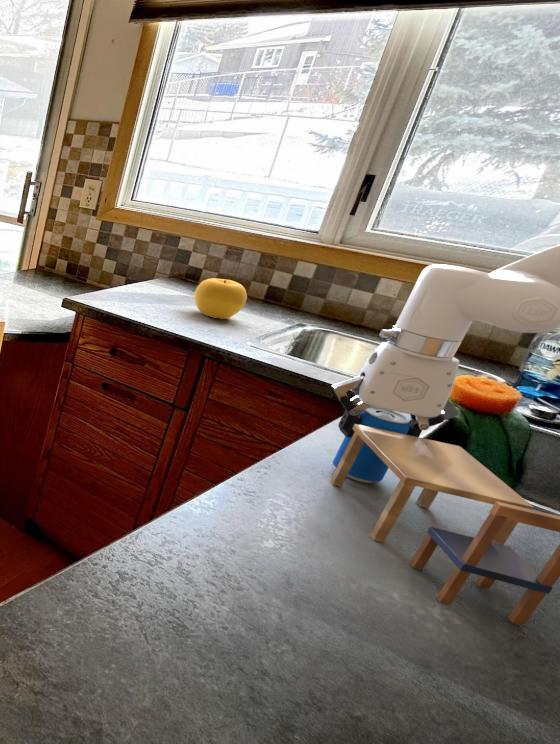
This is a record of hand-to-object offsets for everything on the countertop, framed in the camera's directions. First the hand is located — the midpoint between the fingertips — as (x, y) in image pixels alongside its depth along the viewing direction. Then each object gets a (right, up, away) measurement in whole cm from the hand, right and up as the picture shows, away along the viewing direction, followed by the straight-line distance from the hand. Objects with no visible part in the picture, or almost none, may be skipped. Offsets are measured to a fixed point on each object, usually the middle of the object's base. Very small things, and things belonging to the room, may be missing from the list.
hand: (373, 439), depth 103 cm
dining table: (-5, -11, -9) cm, 15 cm away
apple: (+35, +22, +84) cm, 93 cm away
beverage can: (-1, -7, +3) cm, 7 cm away
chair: (-12, -16, -23) cm, 31 cm away
